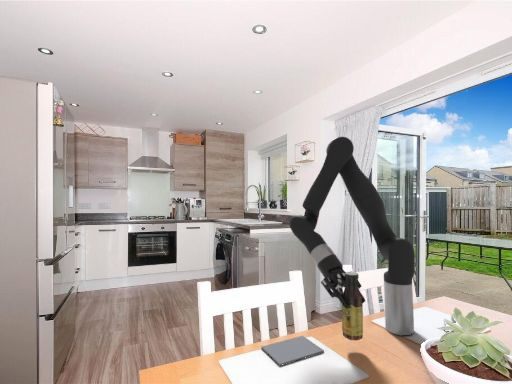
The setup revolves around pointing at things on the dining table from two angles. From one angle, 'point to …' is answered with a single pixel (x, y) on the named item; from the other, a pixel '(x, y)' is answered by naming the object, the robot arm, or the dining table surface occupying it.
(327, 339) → the dining table surface
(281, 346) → the gray mat
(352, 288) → the sauce bottle
